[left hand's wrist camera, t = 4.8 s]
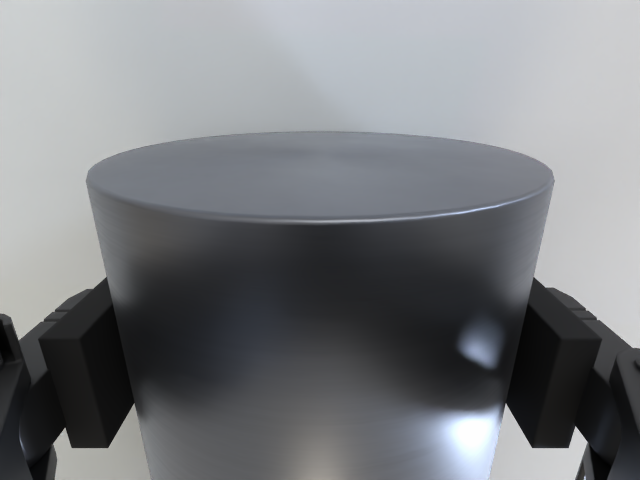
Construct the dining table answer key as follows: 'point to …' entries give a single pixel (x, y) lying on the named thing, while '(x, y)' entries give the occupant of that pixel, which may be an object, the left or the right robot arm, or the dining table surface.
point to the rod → (320, 300)
